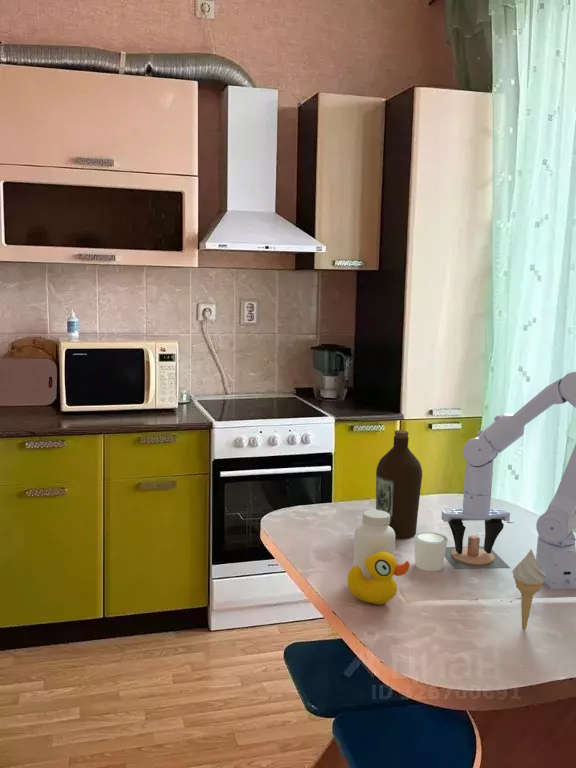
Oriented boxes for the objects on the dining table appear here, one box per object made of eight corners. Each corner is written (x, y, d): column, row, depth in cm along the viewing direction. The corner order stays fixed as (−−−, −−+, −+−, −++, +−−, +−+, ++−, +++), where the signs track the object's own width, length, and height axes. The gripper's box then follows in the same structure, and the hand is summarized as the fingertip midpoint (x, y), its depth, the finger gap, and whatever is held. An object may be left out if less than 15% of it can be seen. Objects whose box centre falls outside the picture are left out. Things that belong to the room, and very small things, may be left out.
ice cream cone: (501, 628, 133) (508, 548, 131) (517, 619, 137) (524, 540, 134) (530, 640, 129) (538, 557, 127) (546, 630, 133) (554, 549, 131)
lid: (500, 564, 160) (502, 545, 159) (459, 565, 158) (461, 545, 158) (484, 549, 168) (486, 530, 168) (445, 549, 167) (447, 530, 167)
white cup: (443, 563, 161) (445, 532, 160) (447, 576, 155) (449, 544, 154) (411, 561, 162) (413, 530, 161) (413, 574, 155) (415, 542, 154)
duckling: (408, 601, 143) (411, 550, 141) (405, 613, 138) (408, 561, 136) (349, 592, 146) (352, 543, 144) (344, 604, 141) (346, 553, 139)
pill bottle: (395, 581, 152) (399, 509, 149) (389, 597, 144) (393, 522, 142) (356, 575, 154) (359, 505, 151) (348, 591, 146) (352, 517, 144)
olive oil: (401, 524, 185) (407, 425, 181) (427, 539, 175) (434, 434, 171) (364, 530, 180) (369, 428, 176) (389, 545, 171) (395, 438, 167)
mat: (510, 571, 158) (510, 567, 158) (454, 572, 157) (455, 568, 157) (488, 549, 170) (488, 546, 170) (437, 550, 169) (437, 547, 169)
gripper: (502, 486, 166) (497, 544, 168) (438, 486, 164) (434, 545, 166) (515, 496, 159) (510, 557, 161) (449, 496, 157) (445, 558, 159)
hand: (473, 552), depth 163 cm, fingers open, 6 cm apart
